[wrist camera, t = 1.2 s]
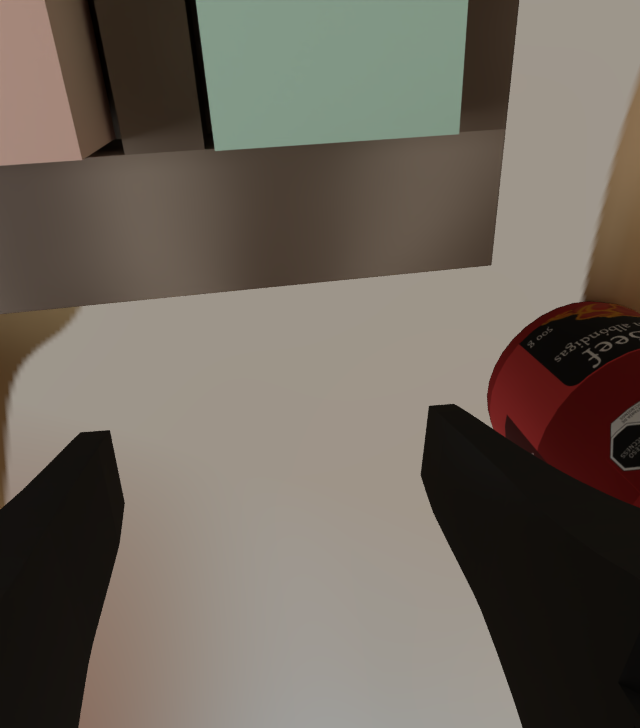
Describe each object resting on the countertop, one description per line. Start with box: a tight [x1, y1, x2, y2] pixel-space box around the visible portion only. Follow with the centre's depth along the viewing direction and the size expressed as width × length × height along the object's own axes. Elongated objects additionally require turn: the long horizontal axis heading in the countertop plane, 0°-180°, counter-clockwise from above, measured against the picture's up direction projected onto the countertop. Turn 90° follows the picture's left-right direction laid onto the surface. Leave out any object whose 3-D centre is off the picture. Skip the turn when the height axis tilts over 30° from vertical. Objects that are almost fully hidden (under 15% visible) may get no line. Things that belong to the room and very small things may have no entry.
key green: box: [196, 0, 468, 151], centre depth 12 cm, size 5×5×4 cm
